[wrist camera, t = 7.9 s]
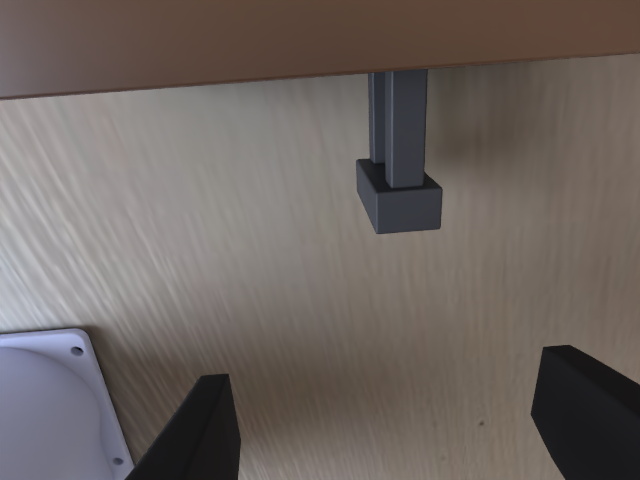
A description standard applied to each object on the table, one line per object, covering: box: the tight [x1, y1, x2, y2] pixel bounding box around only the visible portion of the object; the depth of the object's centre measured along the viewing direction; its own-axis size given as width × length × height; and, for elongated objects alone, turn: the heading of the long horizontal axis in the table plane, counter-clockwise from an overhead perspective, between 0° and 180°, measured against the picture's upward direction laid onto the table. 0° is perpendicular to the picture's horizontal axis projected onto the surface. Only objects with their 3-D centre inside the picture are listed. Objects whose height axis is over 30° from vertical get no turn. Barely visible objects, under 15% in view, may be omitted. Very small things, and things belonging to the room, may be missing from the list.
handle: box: [356, 69, 443, 234], centre depth 12 cm, size 5×7×5 cm
